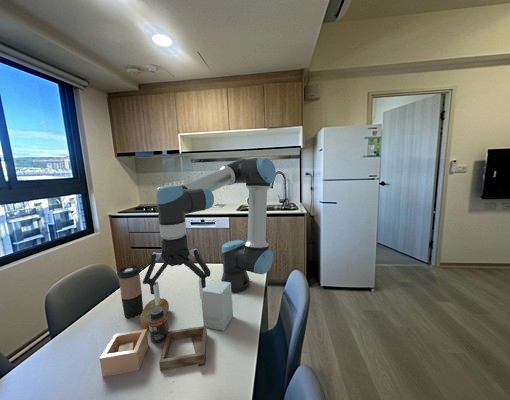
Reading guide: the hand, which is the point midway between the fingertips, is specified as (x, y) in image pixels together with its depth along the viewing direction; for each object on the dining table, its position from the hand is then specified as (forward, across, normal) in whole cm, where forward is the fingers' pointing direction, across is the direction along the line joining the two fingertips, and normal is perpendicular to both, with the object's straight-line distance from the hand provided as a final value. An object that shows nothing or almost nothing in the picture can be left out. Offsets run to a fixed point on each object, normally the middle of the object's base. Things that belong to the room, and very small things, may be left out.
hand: (180, 299), depth 72 cm
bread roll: (+19, +14, -20) cm, 31 cm away
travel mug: (+19, +25, -27) cm, 41 cm away
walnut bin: (+18, 0, 0) cm, 19 cm away
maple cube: (+18, +18, 0) cm, 25 cm away
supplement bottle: (+19, +10, -8) cm, 22 cm away
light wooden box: (+18, +18, 0) cm, 26 cm away
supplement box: (+19, -11, -13) cm, 25 cm away
